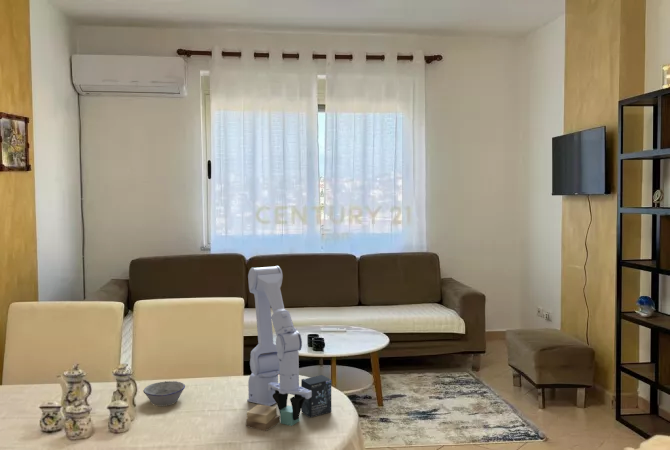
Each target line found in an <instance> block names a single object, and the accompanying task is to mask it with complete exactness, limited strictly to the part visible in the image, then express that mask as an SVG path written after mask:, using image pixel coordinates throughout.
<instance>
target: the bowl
mask: <svg viewBox="0 0 670 450" xmlns="http://www.w3.org/2000/svg"><path fill="white" fill-rule="evenodd" d="M185 388H186V385H185V384H184V383H183V382H181V381H177V380H176V381H174V380H173V381H170V380H169V381H168V380H167V381H159V382H155V383H151V384H148V385H147V386H145V388H144V389H143V390H142V391H143V393H144V394H145V396H146V397H147V399H148V400H149V402H150V403H151V404H152V405H153V404H154V405H153V406H156V405H157V406H158V407H166V405H167V406H171V405H173V403H174V404H176V403H177V402H178V401H179V399H180V396H182V395H181V394H182V393H183V392H184V389H185ZM175 402H176V403H175Z"/></svg>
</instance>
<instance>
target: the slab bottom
mask: <svg viewBox="0 0 670 450" xmlns="http://www.w3.org/2000/svg"><path fill="white" fill-rule="evenodd" d="M245 423H246V427H248V428H251V429H256V430H259V431H262V432H267V431H268V430H270V429H271V428H273V427H275V426H276V425H279V424H281V423H280V414H279V415H278V414H277V415H276V416H275V417H274V418H273V419H272V420H271V421H269V422H268V423H267V424H265V423H258V422H252V421H247V418H246V420H245Z"/></svg>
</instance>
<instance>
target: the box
mask: <svg viewBox="0 0 670 450" xmlns="http://www.w3.org/2000/svg"><path fill="white" fill-rule="evenodd" d="M300 384H301V385H300V386H301V387H303V388H305V389H308V390H311V391H312V397H311V398H309V399H305V401H304V403H303V405H302V408H301V411H300V413H302V414H304V415H305V416H307V417H308V418H314V417H317V416H320V415H321V416H322V415H326V414H329V413H332V379H330V378H329V377H328V376H327V377H326V376H325V375H324V374H320V375H316V376H312V377H307V378H301V383H300Z"/></svg>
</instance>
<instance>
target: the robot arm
mask: <svg viewBox="0 0 670 450" xmlns="http://www.w3.org/2000/svg"><path fill="white" fill-rule="evenodd" d="M283 277H284V275H283V270H282V268H281V267H280V266H279V265H275V266H274V265H273V266H263V267H251V268H250V269H249V271H248V274H247V278H248V281H247V282H248V290H249V293H251V294H253V295H254V296H253V297H254V303H255V317H256V330H257V331H256V332H257V341H258V342H257V345H256V346H255V347H254V348H252V350H251V351H250V359H249V360H250V361H249V366H250V367H249V368H250V371H251V374H250V375H249V377H248V383H247V384H248V385H247V387H248V392H247V393H248V399H246V401H247V402H250V403H254V404H256V405H257V404H259V405H266V406H273V405H276V407H277V408H278V409H277V410H278V411H279V413H280V410H281V409H283V408H285V407H286V406H288V397H289V395H293V396H292V397H290V398H289V401H290V403H291V406H292V410H293V420H297V419H298V418H299V419H300V415H301V414H300V413H301V408H302V405H303V403H304V401H305V399H309V398H311V397H312V391H311V390H308V389H305V388H303V387H301V385H300V367H299V366H300V365H299V364H300V363H299V361H300V359H299V356H300V355H299V351H301V350H302V346H303V340H302V335H301V333H300V332H299V331H298V328H297V327H296V328H295V325H294V323H293V319H292V316H291V314H290V311H289V310H288V309H285V305H284V301H283V296H282V291H281V287H282V283H283ZM272 312H273V314H272ZM273 329H274V333H275V336H276V338H275V343H274V334H273Z"/></svg>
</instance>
